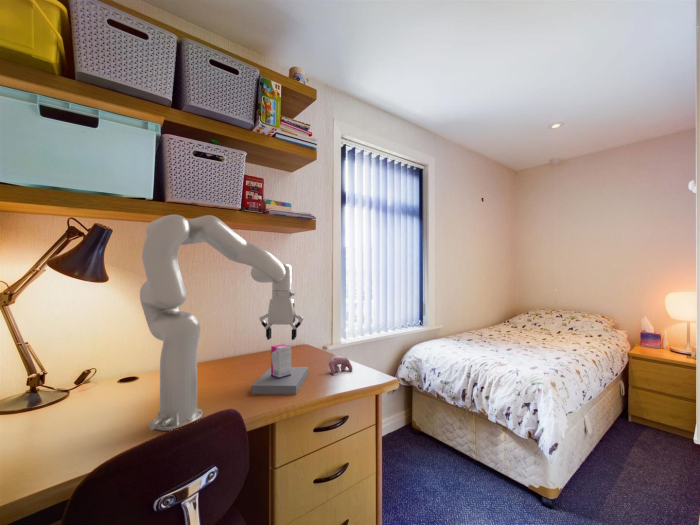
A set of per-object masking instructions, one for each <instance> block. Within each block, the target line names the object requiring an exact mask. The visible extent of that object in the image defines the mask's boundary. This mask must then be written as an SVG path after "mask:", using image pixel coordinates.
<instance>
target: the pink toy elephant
mask: <svg viewBox="0 0 700 525" xmlns="http://www.w3.org/2000/svg"><path fill="white" fill-rule="evenodd" d="M339 365H340V367H339ZM328 367H329V370H330V373H331V374H332V375H333V374H334V375H335V374H336V372H339V371H340V370H341V371H345V370H346V369H348V371H350V372H353V365H352V364H351V362H350V360H349V359H348V358H347V357H342V356H339V357H335V358H333V359H331V360H329V361H328Z"/></svg>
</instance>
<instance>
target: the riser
mask: <svg viewBox="0 0 700 525" xmlns="http://www.w3.org/2000/svg"><path fill="white" fill-rule="evenodd" d="M308 375H309V367H308V366H291V375H290V376H287V377H284V378H281V379H278V378H275V377H273V376H271V367H269V368H268V370H266V372H264V373H263V374H262V375H261V376H260V377H259V378H258V379H257V380H256V381H255V382H254V383H253V384H252V385H251V395H297V394H296V393H298V392H299V391H300V389H301V387H302V386H301V385H303V384H304V382H305V381H306V380H307V379H306V378H307V377H308ZM298 390H299V391H298Z"/></svg>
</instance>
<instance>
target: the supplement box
mask: <svg viewBox="0 0 700 525" xmlns="http://www.w3.org/2000/svg"><path fill="white" fill-rule="evenodd" d="M270 349H271V350H270V351H271V352H270V353H271V354H270V356H271V357H270V363H271V364H270V368H271V376H273V377H275V378H278V379H281V378H284V377H287V376H290V375H291V367H292V345H288V344H285V343H284V344H277V345H271V347H270Z"/></svg>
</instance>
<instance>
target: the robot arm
mask: <svg viewBox="0 0 700 525" xmlns="http://www.w3.org/2000/svg"><path fill="white" fill-rule="evenodd" d="M146 226H147V227H146V229H145V236H146V238H145V240H144V243H143V246H142V252H141V254H142V255H141V257H142V265H143V268H144V273H145V276H146V281H144V282H143V284H142V285H141V287H140V289H139V300H140V305H141V307H142V311H143V314H144V316H145V321H146V323H147V327H148V329H149V332H150V333H151V335H152V336H153V337H154V338H155V339H157V340H159V341H163V342H162V346H161V352H160V359H159V360H160V361H159V411H157V417H155V418H154V420H152V421H151V422H149V424H148V428H149V429H150V430H158V431H166V432H167V431H168V432H169V431H174V430H173V429H175V428H178V427H180V426H182V425H185V424H187V423H190V422H193V421H195V420H198V419H200V418H201V419H202V418H203V413H204V412H203V410H202V409H201V408H199V407H198V348H199V347H198V346H199V341H200V335H201V324H200V322H199V319H198V318H197V317H196V316H195V315H194V314H192V313H190V312H188V311H181V310H180V308H179V307H181V306H183V305H184V303H185V302H186V299H187V294H188V293H187V289H186V284H185V281H184V277H183V275H182V271H181V268H180V265H179V259H178V253H179V250H180V247H181V246H185V245H186V246H187V245H195V244H201V243H207V244H208V245H209V246H211V247H212V248H213V249H214V250H216V251H217V252H219V253H220V254H221V255H223V256H224V257H225V258H226V259H228V260H230V261H232V262H234V263H238V264H243V265H246V266H250V267H251V270H250V276H251V278H252V279H253V280H254V281H255V282H258V283H265V284H266V283H271V298H270V299H269V304H268V310H267V313H266V314H264V315H262V316H260V317H259V321H260V323H261V325H262V326H263V327H264V329H265V337H266V340H267V341H268V340H271V339H272V326H273V325H279V326H280V325H281V326H282V325H286V326H287V325H288V326H291V328H292V329H291V340H292V341H294V340H296V338H297V329H298V328H299V327H300V326H301V325H302V322H303V320H304V317H303V316H301V315H299V314H298V313H296V305H295V300H294V298H292V297H294V296H296V292H294V291H293V290H292V284H293V283H292V281H293V280H292V279H293V278H292V276H293V272H292V271H293V270H292V265H291V264H288V263H282V262H281V261H280V260H279V259H278V258H277V257H275V256H274V255H273V254H272V253H270V252H268V251H267V250H265V249H263V248H262V247H259V246H257V245H255V244H254V243H251V242H249V241H248V240H246V239H244V238H243V237H241V235H239V234H238V233H237V232H235V231H234V230H233V229H232V228H231V227H230V226H228V225H227V224H226V223H225V222H224V221H222V220H221V219H220V218H219V217H217V216H214V215H212V214H211V215H210V214H207V215H201V216H198V217H194V218H186V217H184V216H183V215H180V214H168V215H164V216H162V217H159V218H157V219H154V220H153V221H150V223H148V225H146ZM265 319H267V322H266V320H265ZM296 319H297V320H298V322H296ZM201 419H200V420H201Z"/></svg>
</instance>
